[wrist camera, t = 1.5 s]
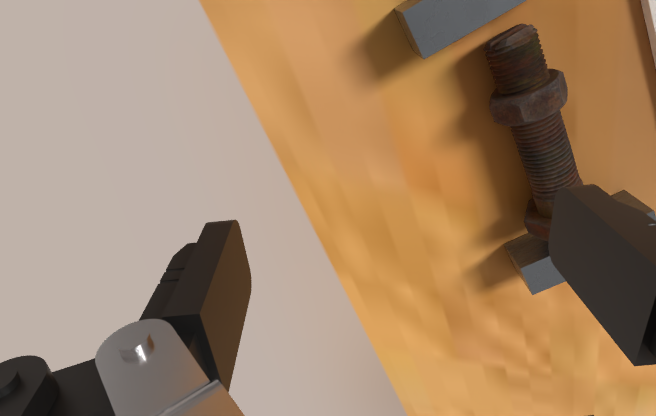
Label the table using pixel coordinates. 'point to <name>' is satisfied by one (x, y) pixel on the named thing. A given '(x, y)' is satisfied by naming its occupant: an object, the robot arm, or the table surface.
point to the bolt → (533, 119)
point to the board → (650, 23)
